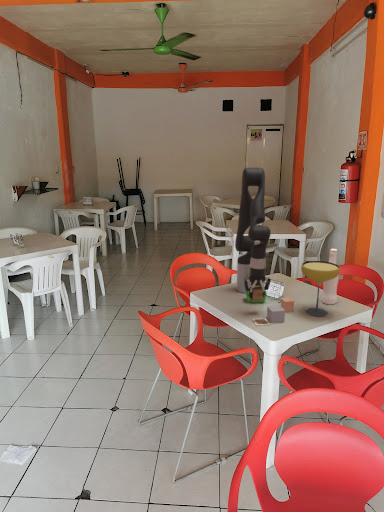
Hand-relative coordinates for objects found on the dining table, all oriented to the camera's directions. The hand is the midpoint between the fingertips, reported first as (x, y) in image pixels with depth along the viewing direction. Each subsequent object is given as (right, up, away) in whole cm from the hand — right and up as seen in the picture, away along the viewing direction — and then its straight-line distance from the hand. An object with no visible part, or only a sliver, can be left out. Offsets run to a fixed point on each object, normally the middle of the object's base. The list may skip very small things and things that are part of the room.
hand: (256, 297), depth 196 cm
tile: (+1, -11, -9) cm, 14 cm away
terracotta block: (+17, -7, +5) cm, 19 cm away
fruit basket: (+2, -4, +18) cm, 18 cm away
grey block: (+8, -10, -6) cm, 14 cm away
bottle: (+42, -4, +16) cm, 45 cm away
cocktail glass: (+31, -8, +3) cm, 32 cm away
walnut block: (0, -1, 0) cm, 1 cm away
